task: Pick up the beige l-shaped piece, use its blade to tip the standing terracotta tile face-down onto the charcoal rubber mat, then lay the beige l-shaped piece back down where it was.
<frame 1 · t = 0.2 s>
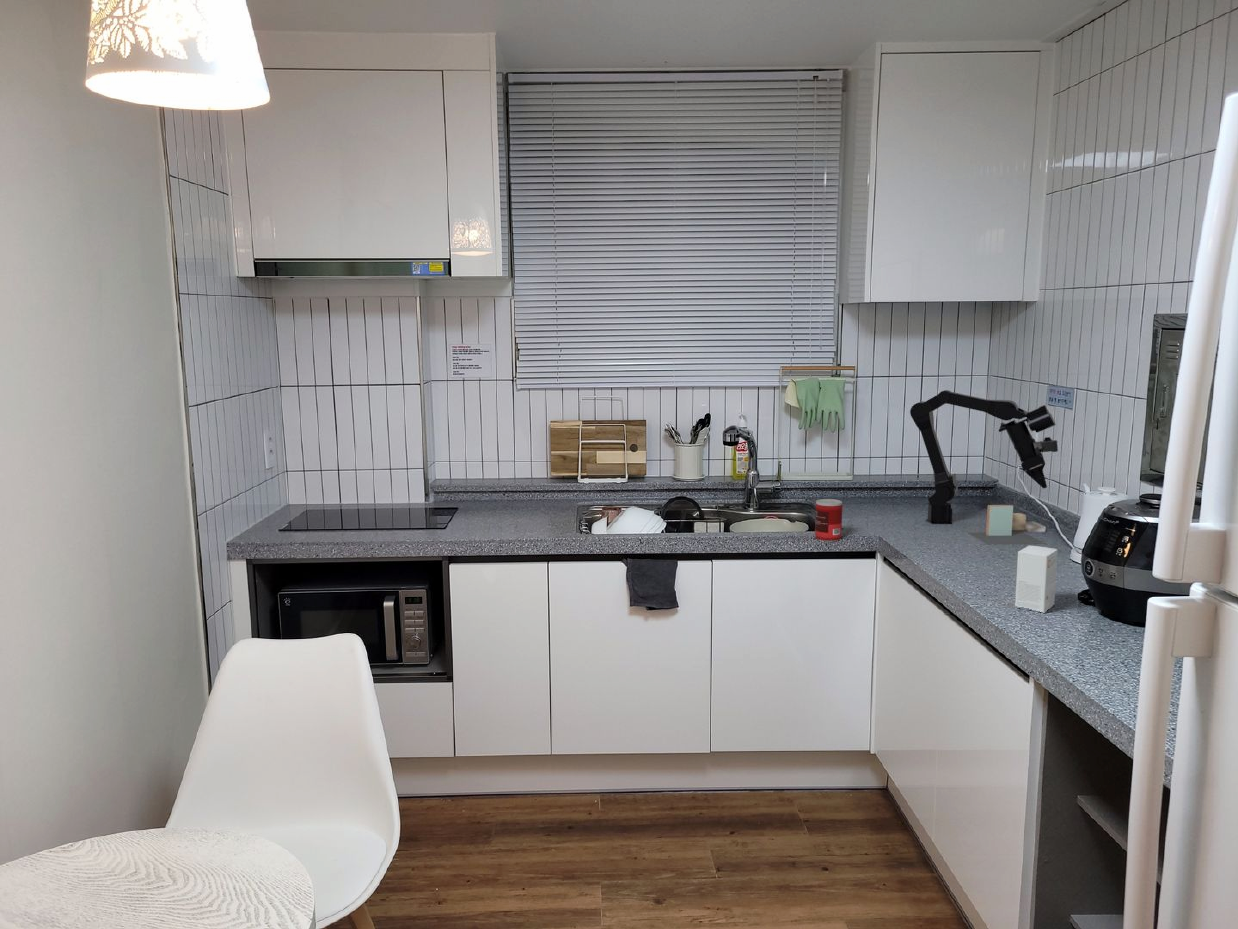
hand: (1044, 486, 275), 14 cm above the counter, tool tilted 25°, fingers open, 9 cm apart
small box: (1034, 608, 203), on the counter
mat: (1006, 539, 268), on the counter
tile: (998, 535, 272), resting on mat
beige l-shaped piece: (1006, 530, 281), on the counter
canned food: (828, 538, 272), on the counter
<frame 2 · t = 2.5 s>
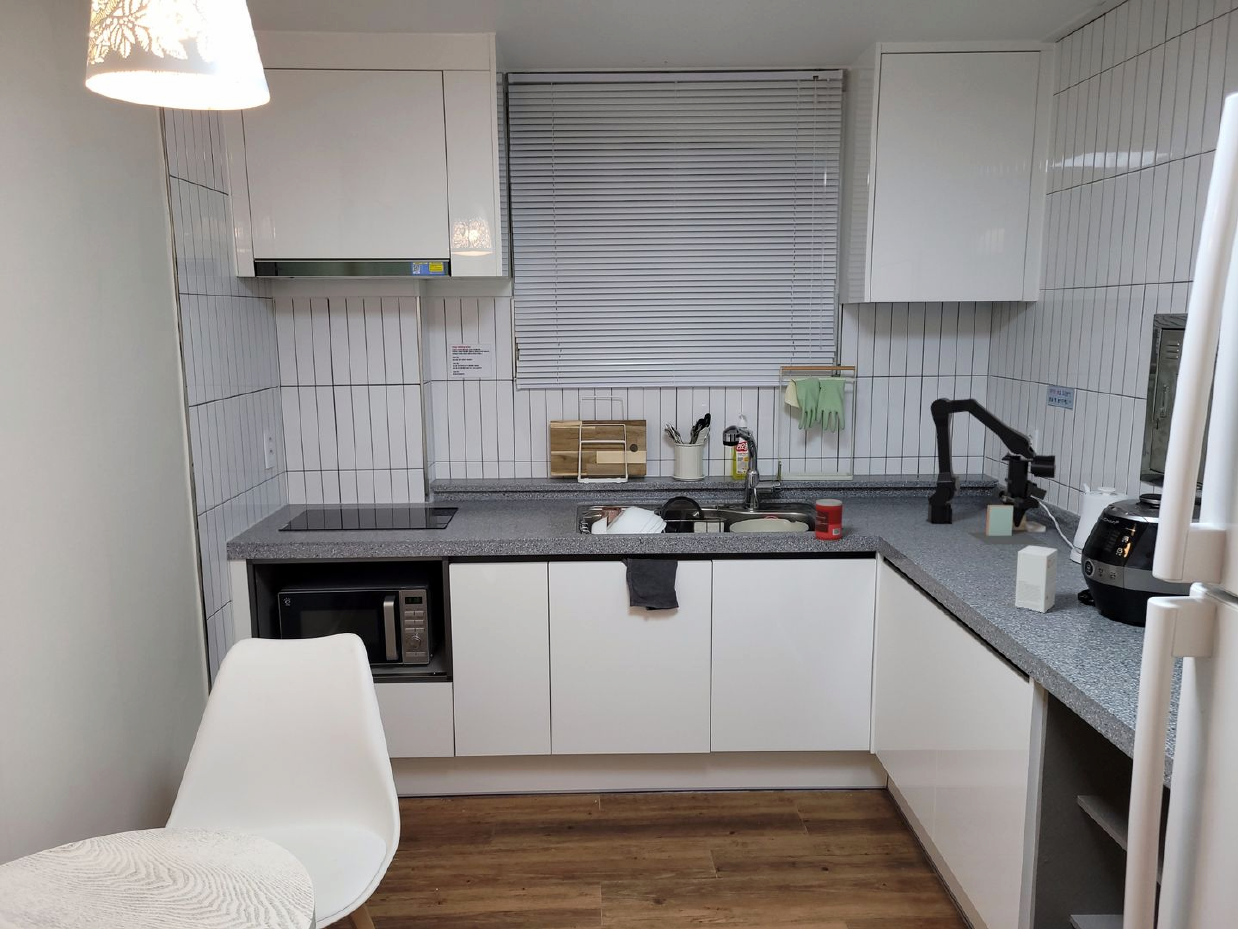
hand: (1014, 526, 280), 1 cm above the counter, tool pointing down, fingers closed on beige l-shaped piece, 3 cm apart
beige l-shaped piece: (1006, 529, 281), on the counter, touching gripper
everything else where it was.
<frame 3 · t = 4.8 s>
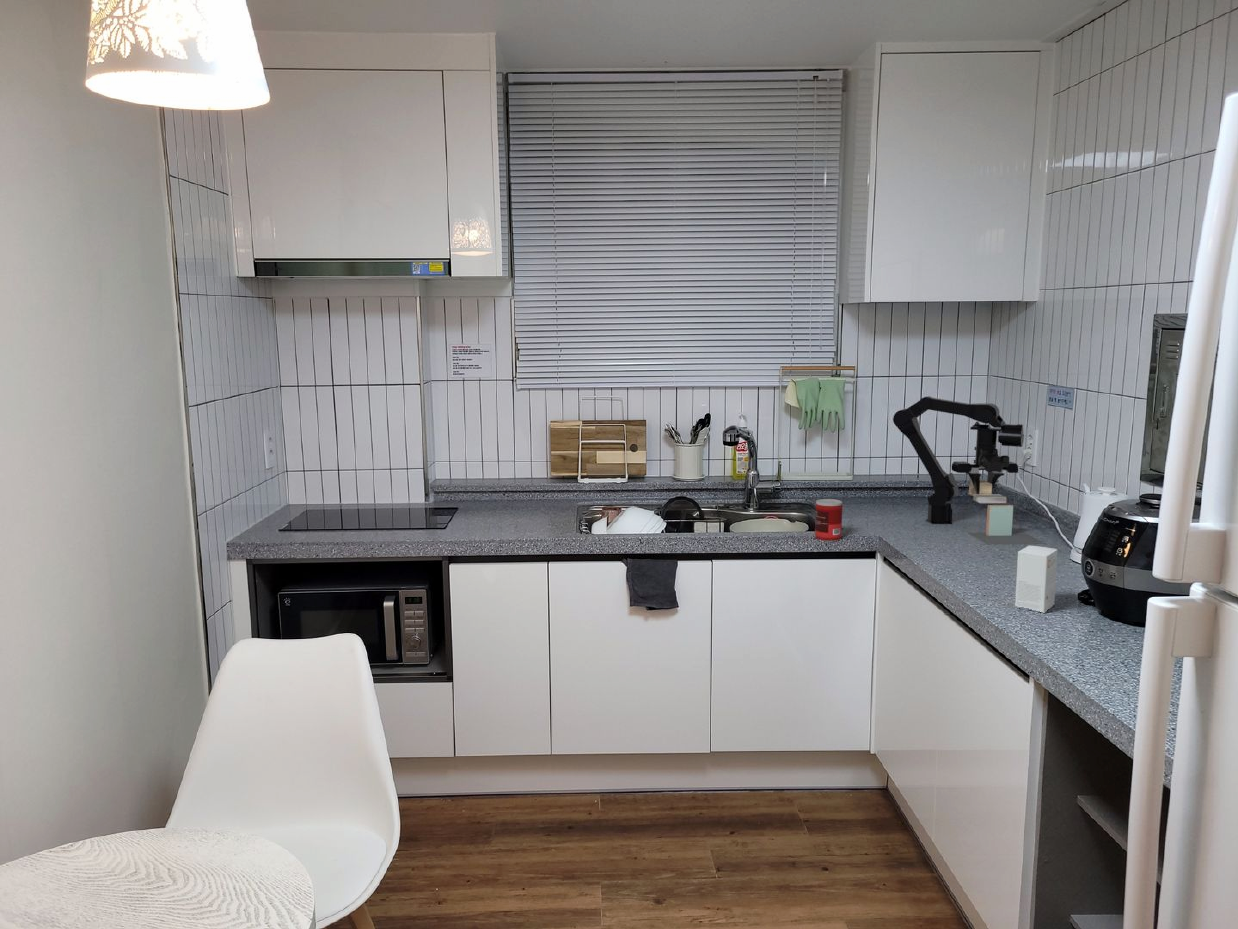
hand: (983, 494, 283), 10 cm above the counter, tool pointing down, fingers closed on beige l-shaped piece, 3 cm apart
beige l-shaped piece: (979, 497, 286), point 9 cm above the counter, touching gripper
everything else where it was.
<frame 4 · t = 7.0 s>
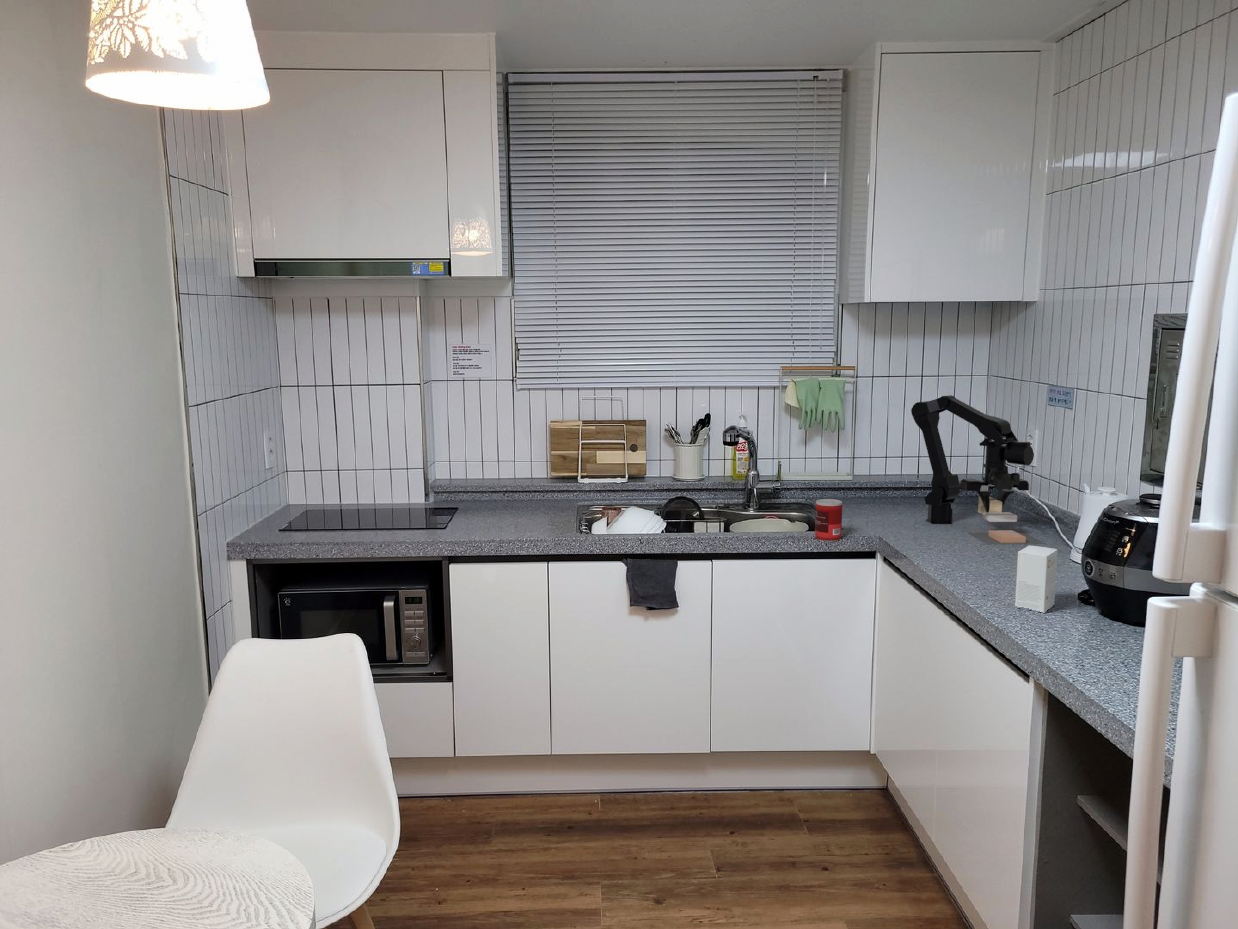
hand: (992, 512, 276), 6 cm above the counter, tool pointing down, fingers closed on beige l-shaped piece, 3 cm apart
tile: (1000, 533, 271), point 1 cm above the counter, tilted 90°, touching mat
beige l-shaped piece: (989, 515, 279), point 5 cm above the counter, touching gripper
everything else where it was.
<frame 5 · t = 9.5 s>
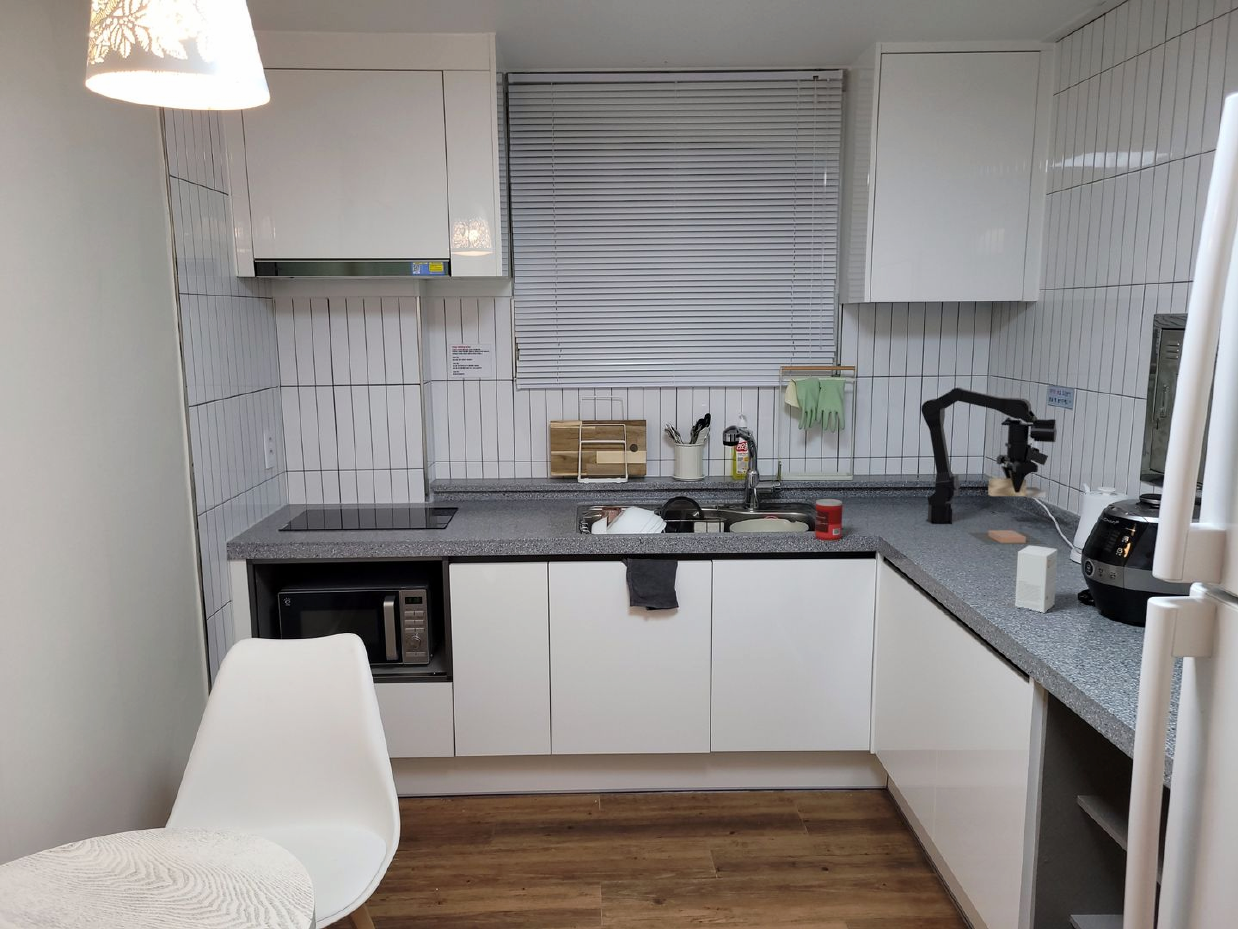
hand: (1015, 491, 278), 12 cm above the counter, tool pointing down, fingers closed on beige l-shaped piece, 3 cm apart
beige l-shaped piece: (1006, 495, 279), point 11 cm above the counter, touching gripper
everything else where it was.
when the fingers open (2 cm above the counter, at t = 11.7 s): beige l-shaped piece drops 1 cm, on the counter.
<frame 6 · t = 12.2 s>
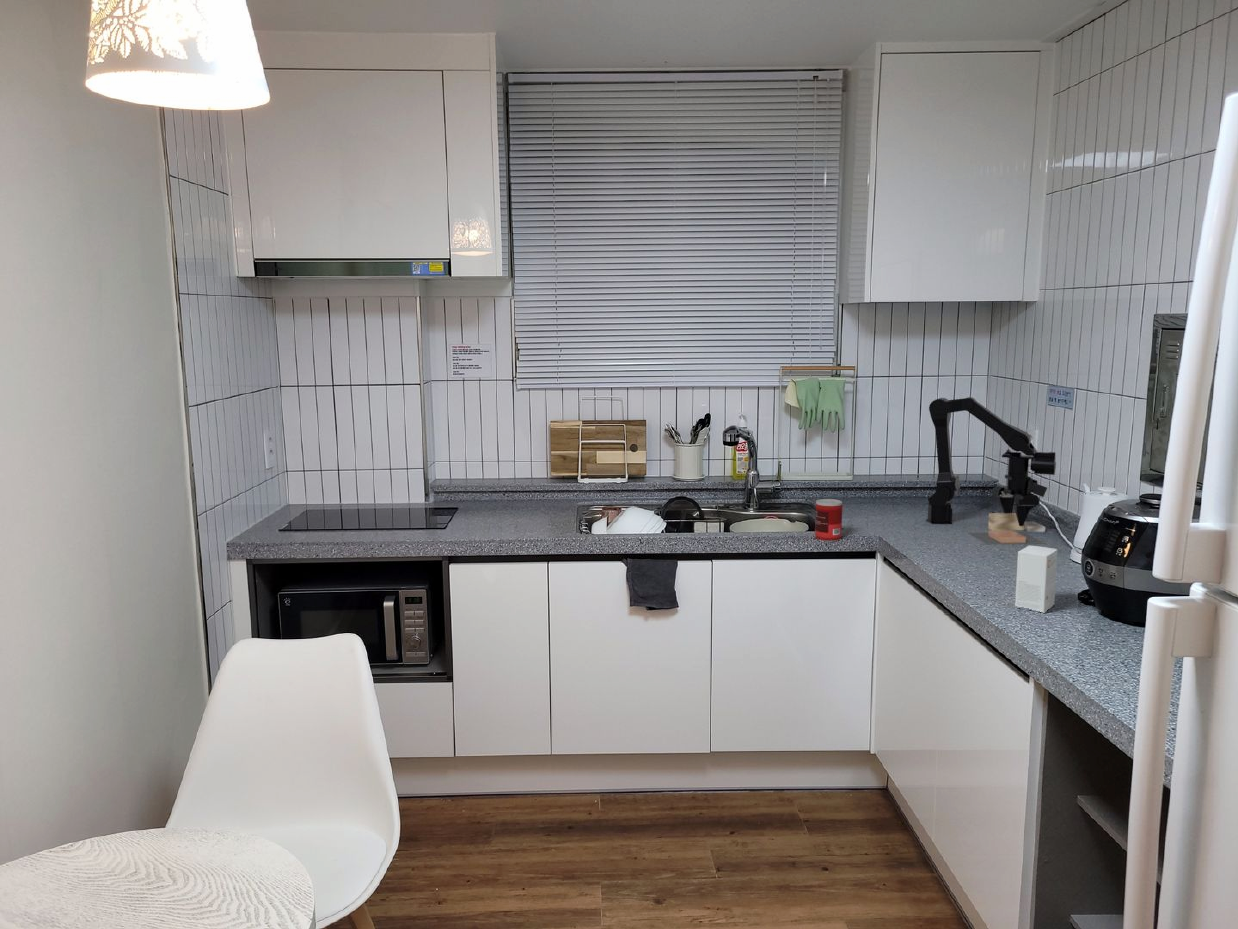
hand: (1014, 522, 280), 2 cm above the counter, tool pointing down, fingers open, 9 cm apart
beige l-shaped piece: (1006, 530, 281), on the counter
everything else where it was.
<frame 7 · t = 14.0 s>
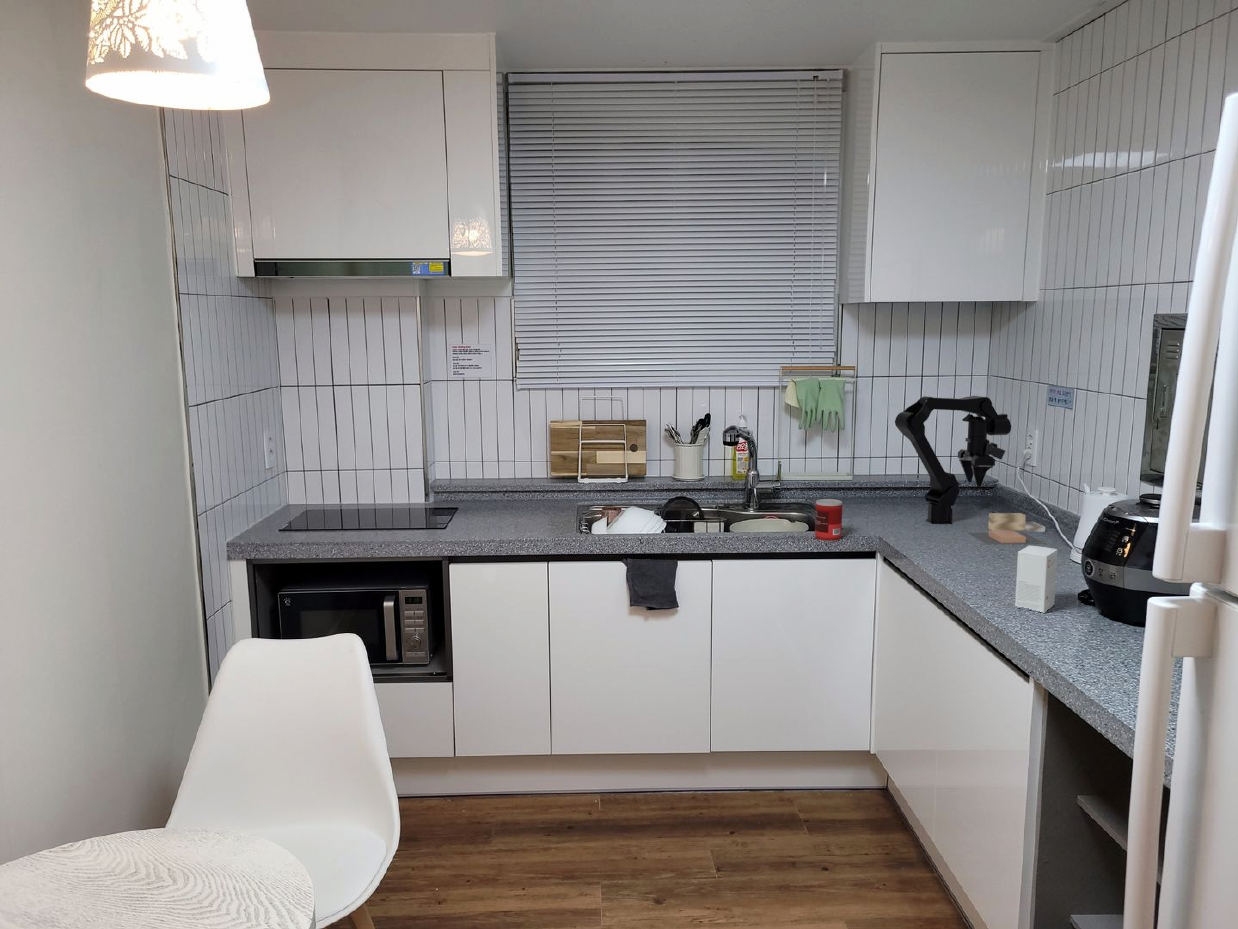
hand: (974, 484, 293), 12 cm above the counter, tool pointing down, fingers open, 9 cm apart
nothing on the counter moved.
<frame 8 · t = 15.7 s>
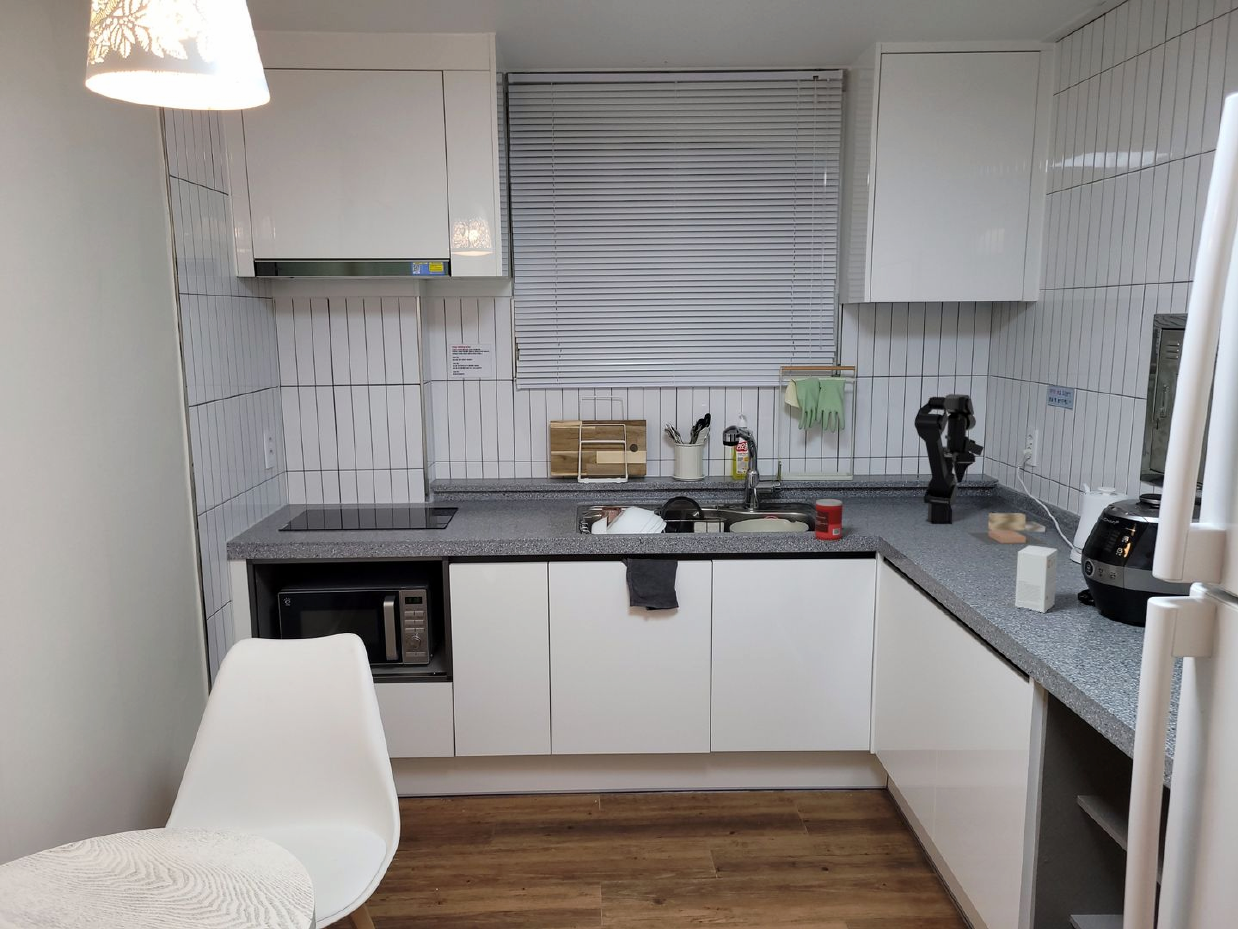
hand: (954, 480, 300), 12 cm above the counter, tool pointing down, fingers open, 9 cm apart
nothing on the counter moved.
at the end: tile tilted 90°; tile inside the target area (0.0 cm from its centre), point 1.2 cm above the counter; beige l-shaped piece inside the target area (0.6 cm from its centre), on the counter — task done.
